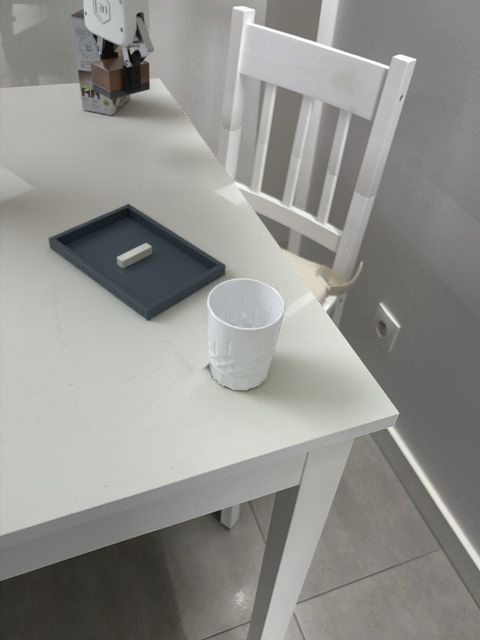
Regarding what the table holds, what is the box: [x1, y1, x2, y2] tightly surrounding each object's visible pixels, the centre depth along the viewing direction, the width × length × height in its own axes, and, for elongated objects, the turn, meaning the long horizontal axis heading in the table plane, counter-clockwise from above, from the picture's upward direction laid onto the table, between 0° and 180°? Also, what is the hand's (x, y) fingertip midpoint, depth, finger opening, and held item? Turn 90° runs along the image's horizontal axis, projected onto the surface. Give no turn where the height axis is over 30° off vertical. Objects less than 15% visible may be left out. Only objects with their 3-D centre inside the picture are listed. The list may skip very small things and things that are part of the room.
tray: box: [48, 203, 226, 321], centre depth 73 cm, size 19×13×2 cm
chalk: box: [117, 243, 152, 268], centre depth 73 cm, size 1×5×1 cm, turn 140°
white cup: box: [206, 277, 286, 391], centre depth 59 cm, size 8×8×10 cm
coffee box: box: [70, 8, 131, 116], centre depth 102 cm, size 9×6×16 cm
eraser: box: [91, 56, 151, 99], centre depth 88 cm, size 4×8×4 cm, turn 140°
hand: (121, 84), depth 88 cm, fingers closed on eraser, 4 cm apart
